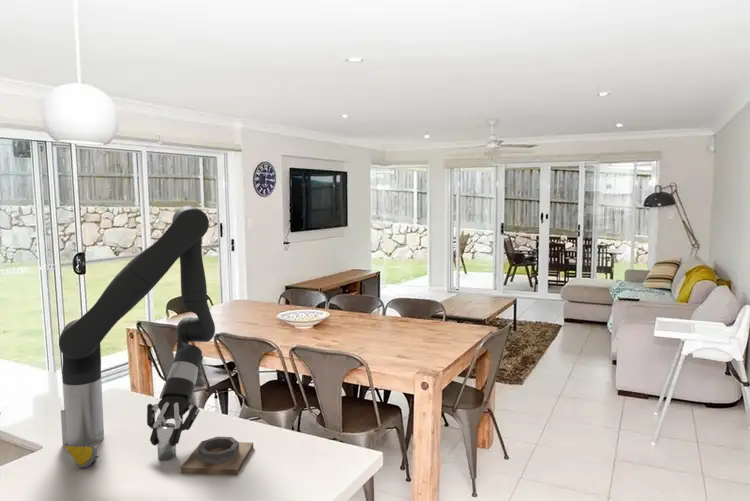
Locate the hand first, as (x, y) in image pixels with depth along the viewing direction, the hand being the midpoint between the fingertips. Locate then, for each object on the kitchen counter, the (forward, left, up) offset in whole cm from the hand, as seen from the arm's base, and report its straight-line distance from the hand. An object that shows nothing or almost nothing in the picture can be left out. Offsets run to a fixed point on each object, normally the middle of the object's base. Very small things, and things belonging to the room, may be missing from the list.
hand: (163, 444), depth 139 cm
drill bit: (-18, -5, -4) cm, 19 cm away
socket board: (+14, +1, -4) cm, 15 cm away
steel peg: (0, +2, -4) cm, 5 cm away
